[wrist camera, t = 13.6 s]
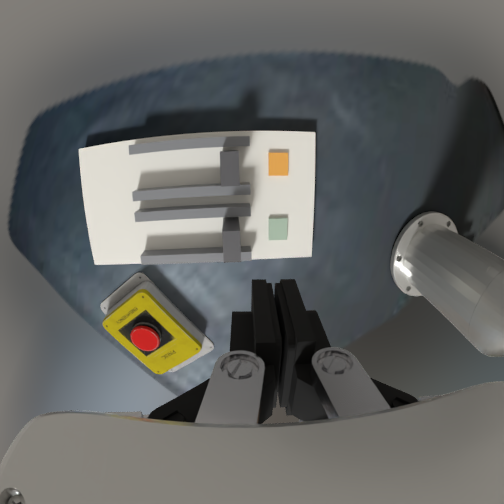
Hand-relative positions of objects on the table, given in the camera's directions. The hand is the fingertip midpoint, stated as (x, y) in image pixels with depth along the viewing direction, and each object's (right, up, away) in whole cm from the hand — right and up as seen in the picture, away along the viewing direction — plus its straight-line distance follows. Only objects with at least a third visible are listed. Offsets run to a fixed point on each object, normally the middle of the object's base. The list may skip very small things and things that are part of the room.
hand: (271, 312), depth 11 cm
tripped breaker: (-3, +11, +17) cm, 20 cm away
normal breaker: (-3, +5, +20) cm, 20 cm away
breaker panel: (-7, +8, +20) cm, 23 cm away
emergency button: (-14, -8, +26) cm, 31 cm away
